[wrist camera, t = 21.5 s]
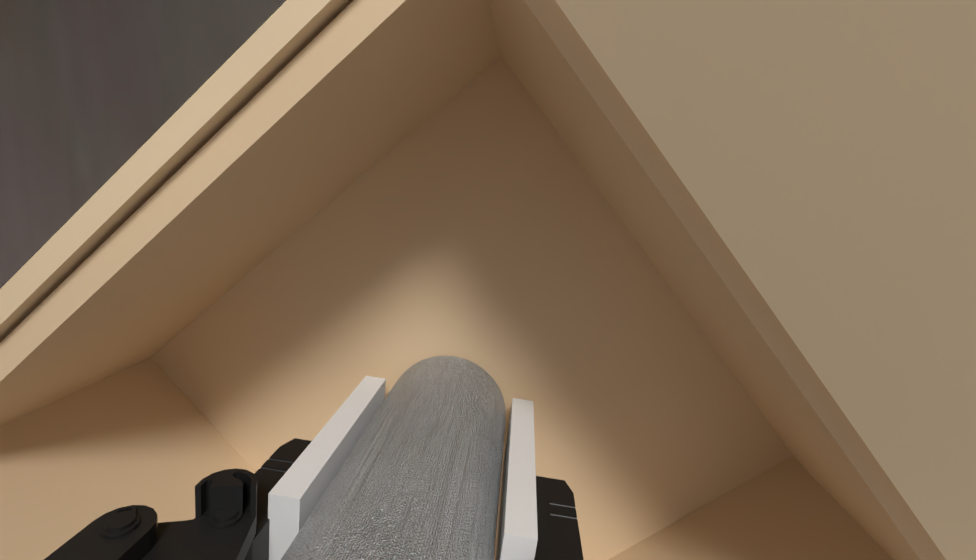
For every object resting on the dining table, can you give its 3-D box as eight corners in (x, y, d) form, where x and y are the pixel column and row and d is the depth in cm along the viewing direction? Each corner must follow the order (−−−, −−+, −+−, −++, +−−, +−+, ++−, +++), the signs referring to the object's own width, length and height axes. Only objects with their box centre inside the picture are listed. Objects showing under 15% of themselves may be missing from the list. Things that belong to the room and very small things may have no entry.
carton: (123, 345, 19) (-177, 467, 11) (493, 17, 15) (457, -173, 7) (427, 675, 21) (367, 978, 13) (814, 462, 17) (1062, 702, 9)
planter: (369, 419, 18) (173, 719, 8) (430, 331, 17) (292, 548, 7) (464, 481, 18) (389, 847, 8) (529, 397, 17) (533, 699, 7)
